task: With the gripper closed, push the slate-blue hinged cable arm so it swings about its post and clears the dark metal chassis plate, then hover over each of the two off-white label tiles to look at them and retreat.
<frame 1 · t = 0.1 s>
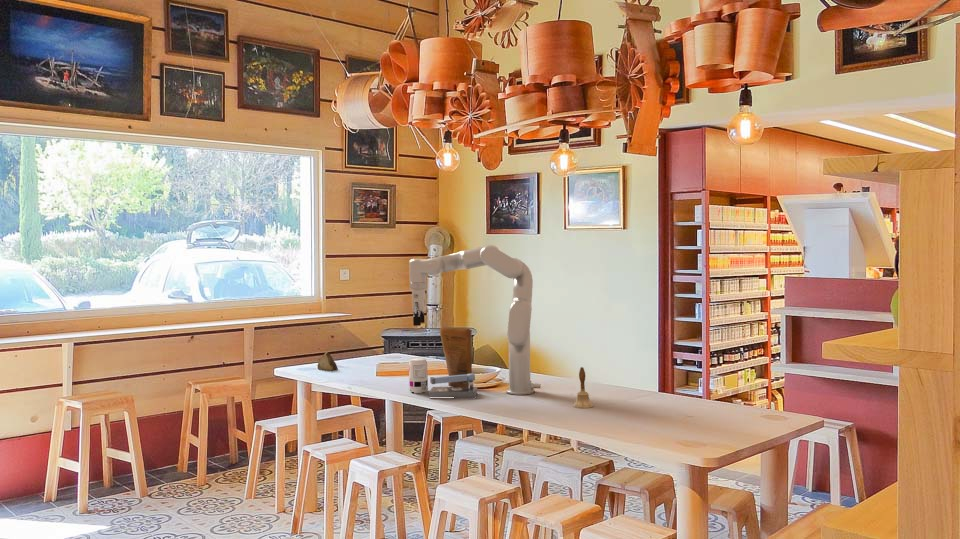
hand: (419, 324, 351), 31 cm above the table, tool pointing down, fingers open, 9 cm apart
chassis: (453, 395, 344), on the table
rock: (327, 369, 415), on the table
supplement can: (418, 392, 354), on the table
pancake mix bag: (458, 387, 363), on the table
cable arm: (453, 378, 343), point 8 cm above the table, hinge at 0.0°
hand bell: (583, 406, 320), on the table
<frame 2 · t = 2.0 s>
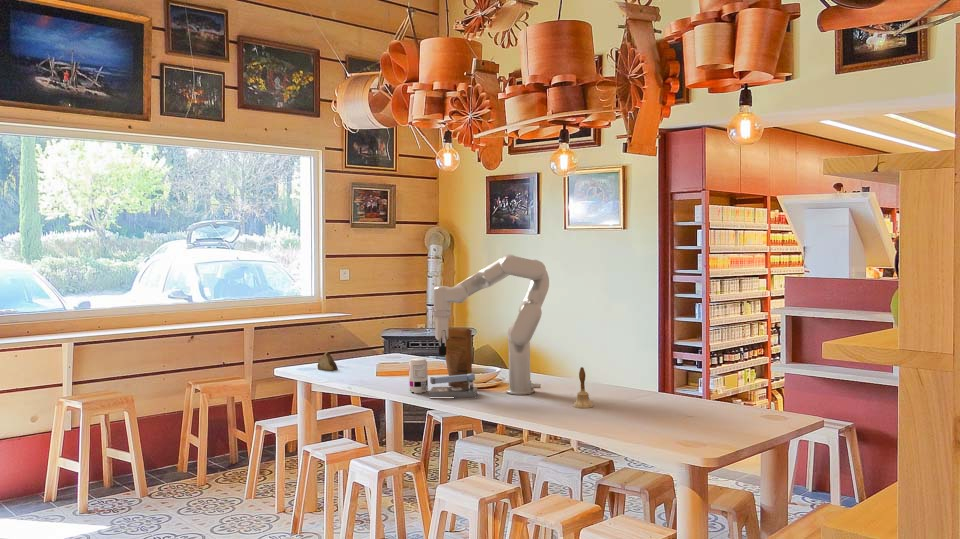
hand: (442, 354, 346), 18 cm above the table, tool pointing down, fingers closed
nothing on the table moved.
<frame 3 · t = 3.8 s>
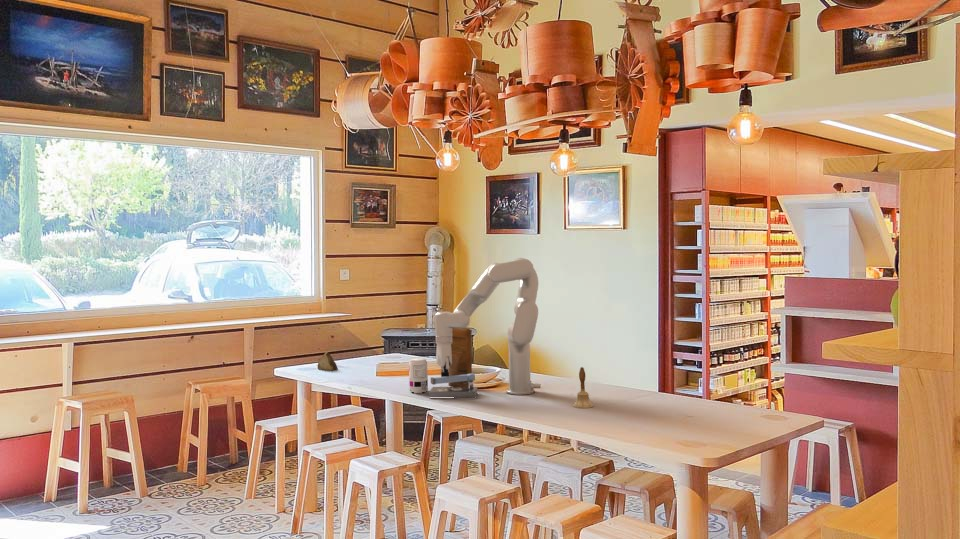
hand: (445, 380, 344), 7 cm above the table, tool pointing down, fingers closed
cable arm: (453, 378, 342), point 8 cm above the table, hinge at 2.0°, touching gripper
everything else where it was.
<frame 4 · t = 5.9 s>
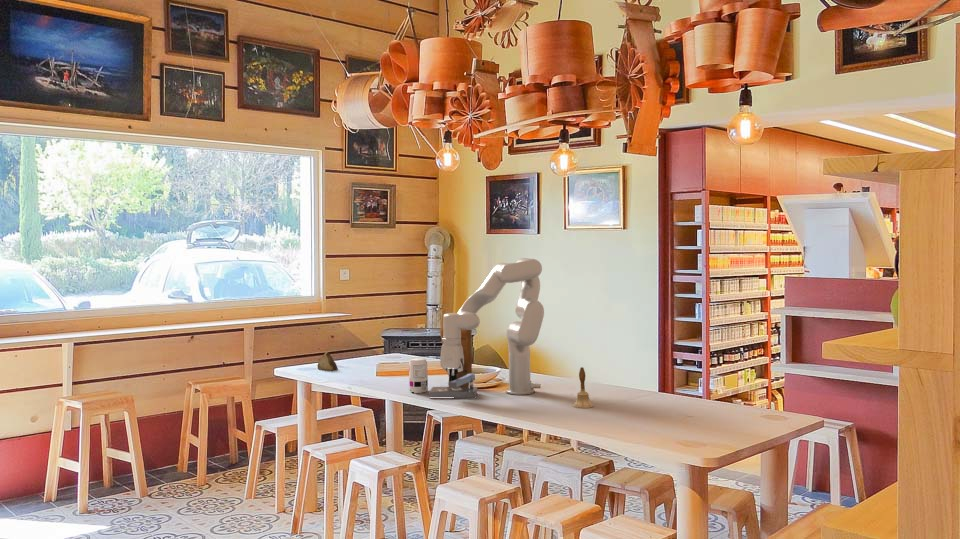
hand: (452, 383, 337), 7 cm above the table, tool pointing down, fingers closed
cable arm: (462, 380, 338), point 8 cm above the table, hinge at 44.8°, touching gripper
everything else where it was.
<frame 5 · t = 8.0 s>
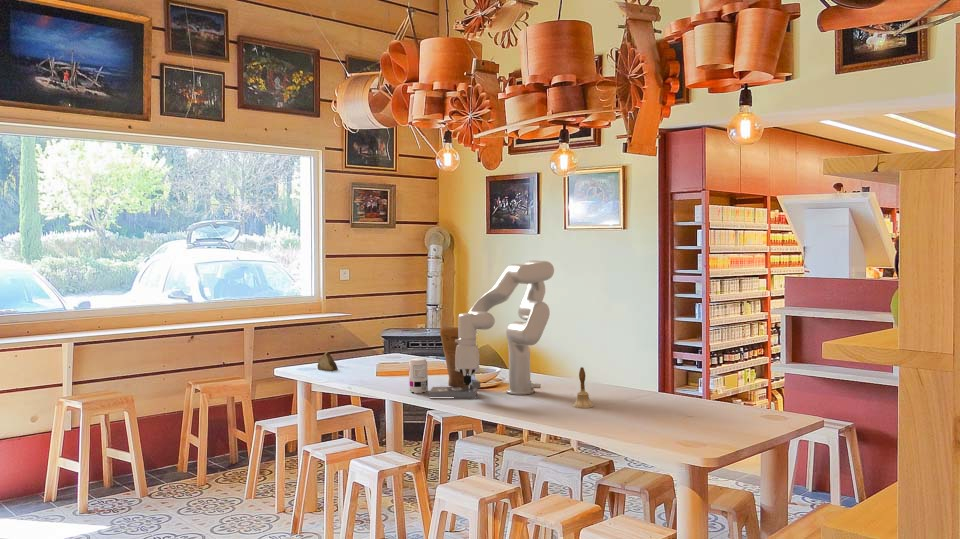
hand: (467, 384, 333), 7 cm above the table, tool pointing down, fingers closed
cable arm: (473, 380, 337), point 8 cm above the table, hinge at 78.6°, touching gripper
everything else where it was.
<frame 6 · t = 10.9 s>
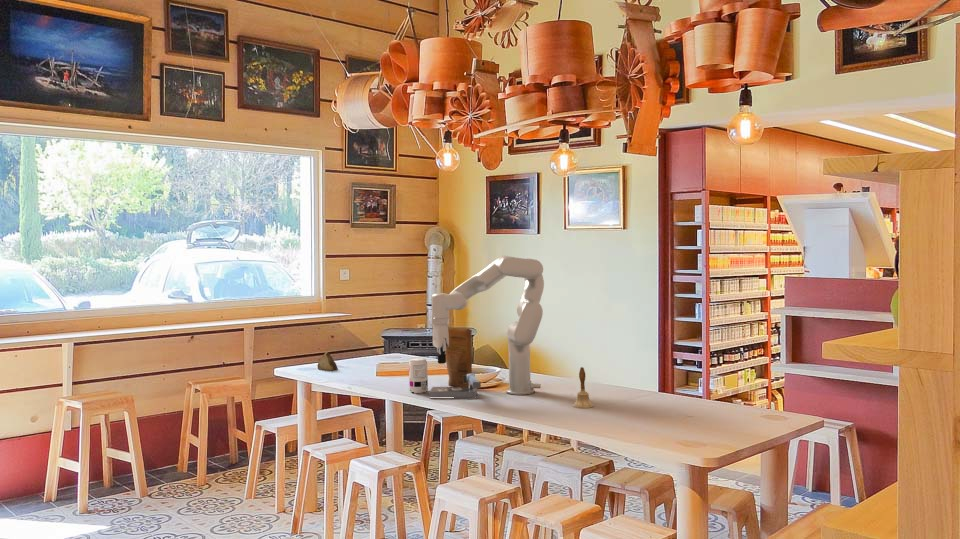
hand: (441, 363, 341), 15 cm above the table, tool pointing down, fingers closed
cable arm: (473, 380, 337), point 8 cm above the table, hinge at 79.0°
everything else where it was.
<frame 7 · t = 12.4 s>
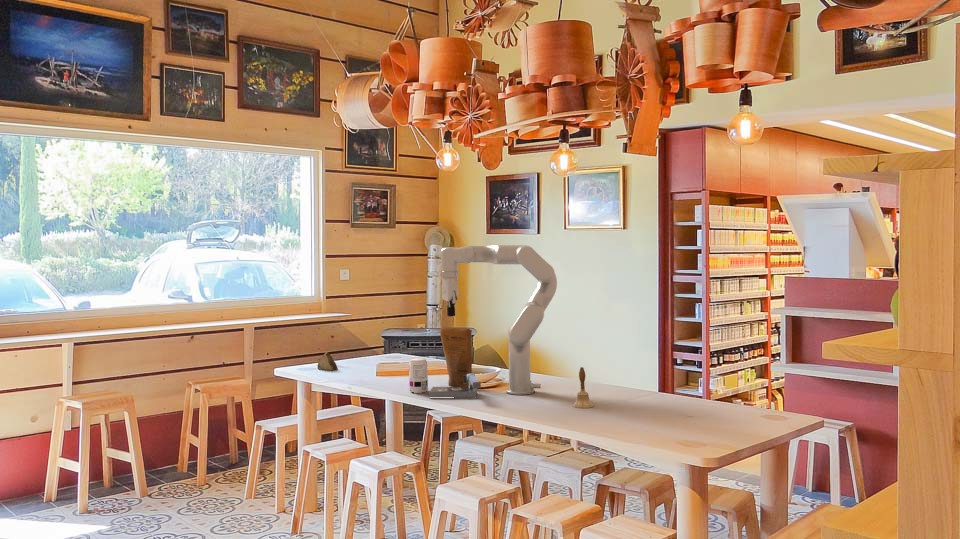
hand: (451, 316, 347), 35 cm above the table, tool pointing down, fingers closed
nothing on the table moved.
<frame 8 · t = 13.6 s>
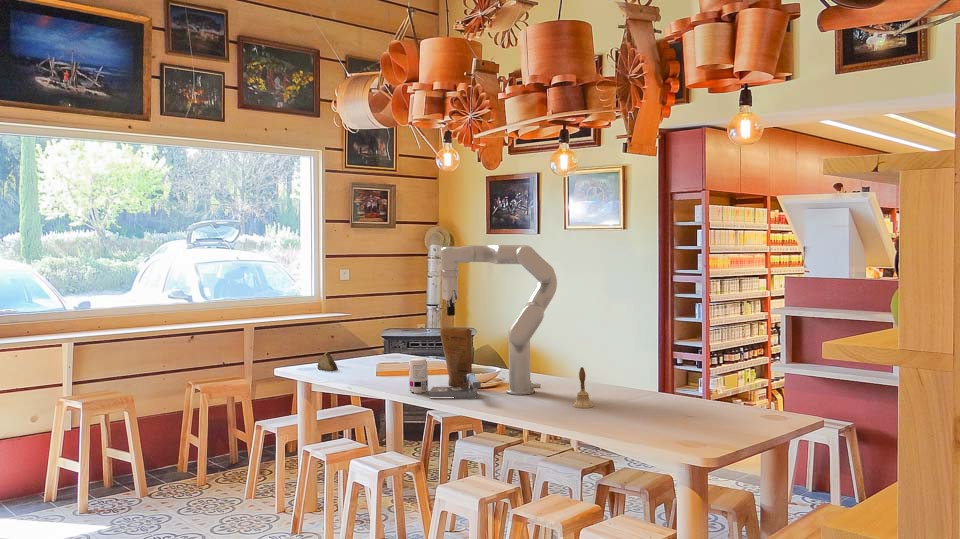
hand: (451, 315, 347), 35 cm above the table, tool pointing down, fingers closed
nothing on the table moved.
at the end: cable arm at +79° (first picture: +0°); supplement can moved 0.2 cm from its start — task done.
